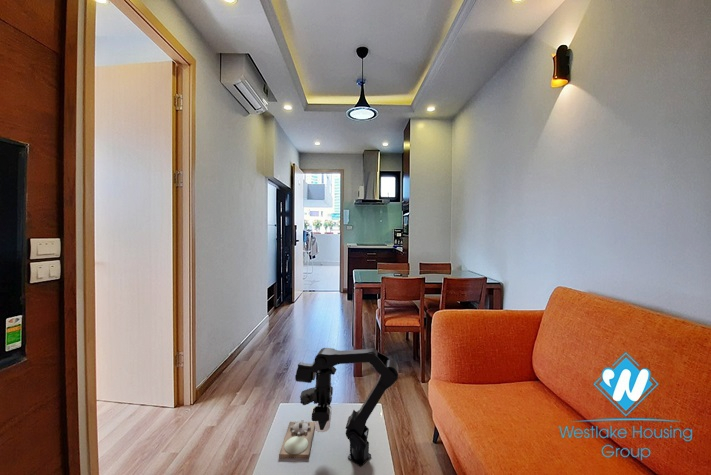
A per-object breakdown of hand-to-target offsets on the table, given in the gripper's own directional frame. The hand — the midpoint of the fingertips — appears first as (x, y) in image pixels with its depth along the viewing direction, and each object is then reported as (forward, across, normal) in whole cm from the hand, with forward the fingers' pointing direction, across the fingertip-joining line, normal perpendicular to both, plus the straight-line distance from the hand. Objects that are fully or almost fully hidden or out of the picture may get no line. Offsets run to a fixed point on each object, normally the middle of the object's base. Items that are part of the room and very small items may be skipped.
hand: (322, 423), depth 109 cm
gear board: (+11, -6, -10) cm, 16 cm away
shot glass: (+1, 0, 0) cm, 1 cm away
